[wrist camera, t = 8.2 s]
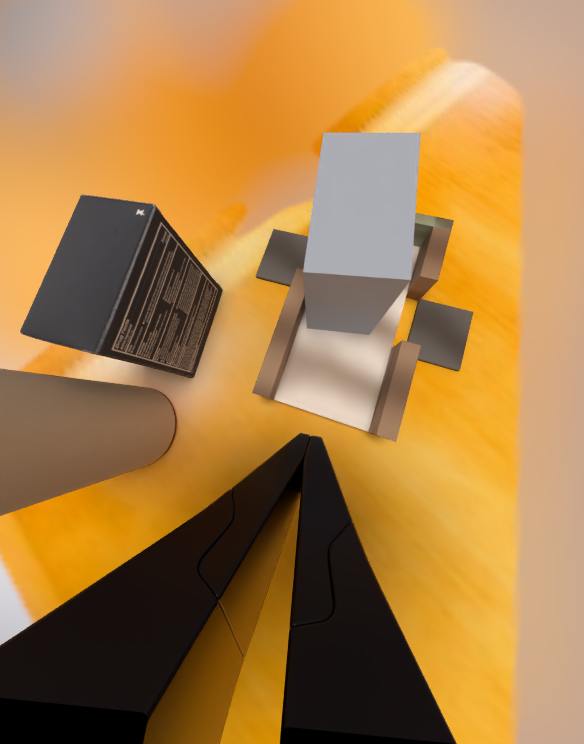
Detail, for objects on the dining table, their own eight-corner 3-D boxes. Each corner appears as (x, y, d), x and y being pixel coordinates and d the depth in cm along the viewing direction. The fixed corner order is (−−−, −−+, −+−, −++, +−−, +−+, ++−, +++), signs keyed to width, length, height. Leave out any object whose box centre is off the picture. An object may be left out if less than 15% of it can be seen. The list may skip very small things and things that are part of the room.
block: (369, 334, 21) (411, 280, 12) (306, 328, 22) (303, 271, 13) (377, 241, 22) (420, 132, 14) (319, 238, 23) (323, 132, 14)
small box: (172, 278, 25) (75, 187, 15) (224, 288, 24) (160, 200, 14) (140, 365, 24) (8, 331, 13) (194, 379, 23) (98, 355, 13)
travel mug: (193, 423, 22) (-293, 483, 4) (136, 485, 22) (-671, 831, 4) (144, 372, 23) (-369, 260, 6) (90, 428, 23) (-651, 493, 5)
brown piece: (437, 455, 19) (464, 465, 16) (216, 380, 23) (199, 374, 19) (483, 259, 22) (514, 232, 19) (279, 216, 25) (274, 185, 22)
